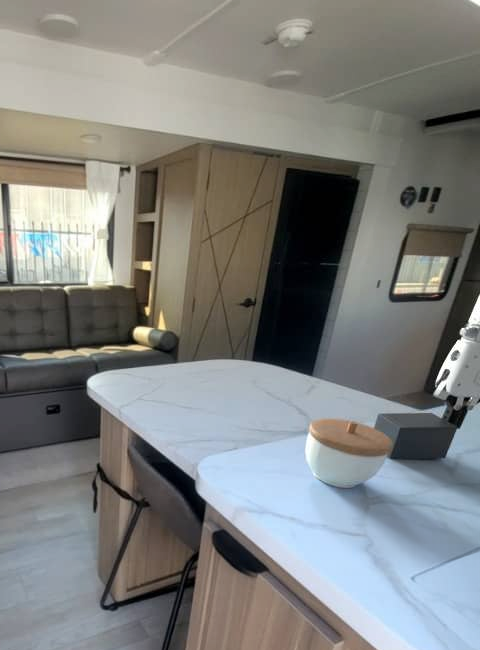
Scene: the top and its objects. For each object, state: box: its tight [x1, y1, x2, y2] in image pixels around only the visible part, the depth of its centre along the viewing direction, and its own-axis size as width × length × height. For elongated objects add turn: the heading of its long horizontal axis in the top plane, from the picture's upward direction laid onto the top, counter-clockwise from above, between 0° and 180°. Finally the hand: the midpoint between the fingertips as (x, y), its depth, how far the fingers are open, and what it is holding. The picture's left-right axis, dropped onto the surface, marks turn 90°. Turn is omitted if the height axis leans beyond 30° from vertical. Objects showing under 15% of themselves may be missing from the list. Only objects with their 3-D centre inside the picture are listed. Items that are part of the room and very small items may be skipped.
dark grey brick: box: [373, 412, 458, 460], centre depth 83 cm, size 11×7×7 cm, turn 89°
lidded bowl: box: [304, 417, 393, 489], centre depth 72 cm, size 13×13×11 cm
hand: (449, 425), depth 82 cm, fingers closed
